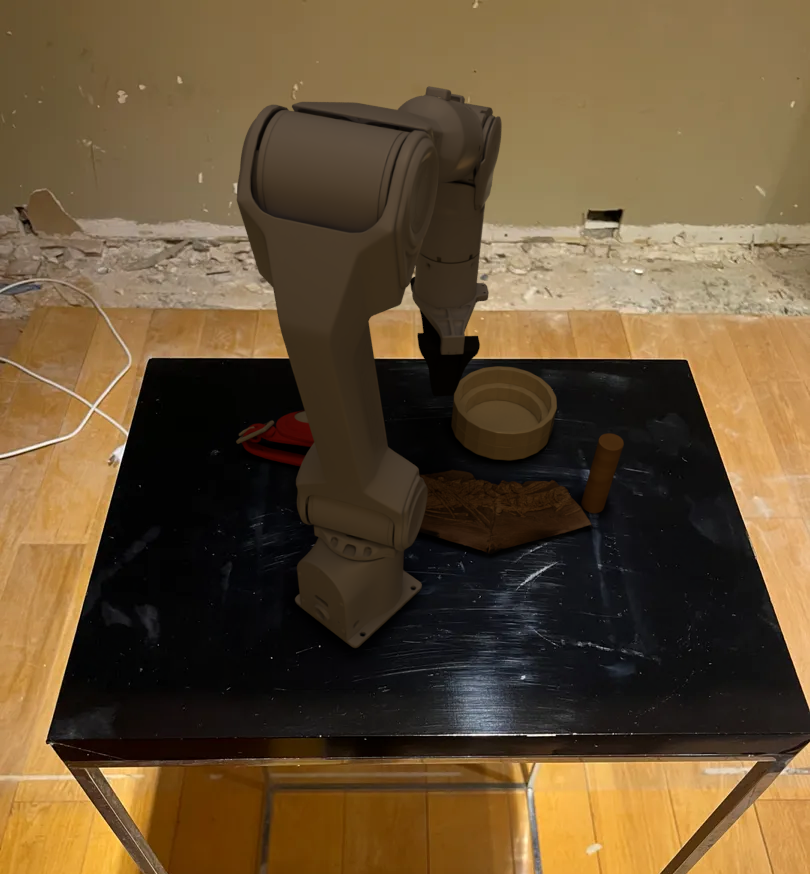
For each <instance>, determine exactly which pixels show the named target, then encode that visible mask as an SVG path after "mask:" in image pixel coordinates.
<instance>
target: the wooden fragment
mask: <svg viewBox="0 0 810 874" xmlns="http://www.w3.org/2000/svg"><path fill="white" fill-rule="evenodd" d="M419 476H420V477H421V478H423V480H424V482H425V484H426V486H427V489H428V496H427V503H426V508H425V513H424V517H423V520H422V524H421V527H420V529H419V532H418V533H423V534H426V535H430V536H433V537H436V538H439V539H442V540H445V541H449V542H452V543H456V544H460V545H463V546H467V547H470V548H472V549H476V550H478V551H479V550H480V551H483V552H484V553H487V554H489V555H490V554H491V555H492V554H495V553H497V552H499V551H501V550H505V549H508V548H511V547H515V546H520V545H523V544H527V543H531V542H534V541H538V540H541V539H546V538H551V537H553V536H557V535H560V534H561V535H562V534H566V533H569V532H572V531H575V530H578V529H581V528H584V527H587V526H590V527H591V528H592V530H594V527H593V524H592V522H591V520H590V519H589V518H588V516H587V515H586V513H585V512H584V509H583V507H582V505H579V503H577V501H576V500H575V499H574V498H573V497H572V496H571V494H570V493H569V489H567V488H566V487H565V486H563V485H559V484H558V483H557V482H556V481H555V480H554V479H551V480H550V481H546V480H542V481H541V480H528V481H524V482H523V483H520V482H517V481H506V480H504V479H503V480H501V481H500V483H499V484H496V483H491V482H489V481H488V480H483V479H476V478H475V476H474V475H473V474H472V473H471V472H468V471H464V470H455V469H451V470H447V471H440V472H433V473H431V474H430V473H426V474H419Z"/></svg>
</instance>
